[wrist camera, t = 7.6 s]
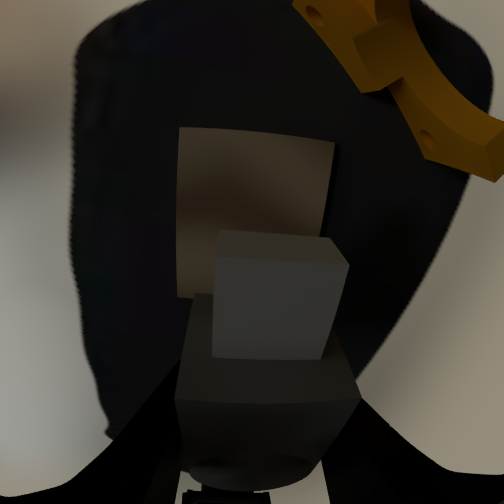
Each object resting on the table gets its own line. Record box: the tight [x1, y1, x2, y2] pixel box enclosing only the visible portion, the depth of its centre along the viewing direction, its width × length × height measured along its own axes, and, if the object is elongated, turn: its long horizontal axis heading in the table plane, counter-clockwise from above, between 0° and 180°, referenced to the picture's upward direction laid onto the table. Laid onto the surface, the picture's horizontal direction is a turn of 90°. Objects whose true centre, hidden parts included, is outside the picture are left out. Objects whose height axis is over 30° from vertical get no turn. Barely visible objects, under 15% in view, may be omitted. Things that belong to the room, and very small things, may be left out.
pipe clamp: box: [292, 0, 504, 183], centre depth 10 cm, size 12×4×6 cm, turn 37°
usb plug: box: [174, 229, 362, 491], centre depth 8 cm, size 9×4×4 cm, turn 174°
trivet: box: [176, 127, 335, 298], centre depth 16 cm, size 10×8×1 cm
